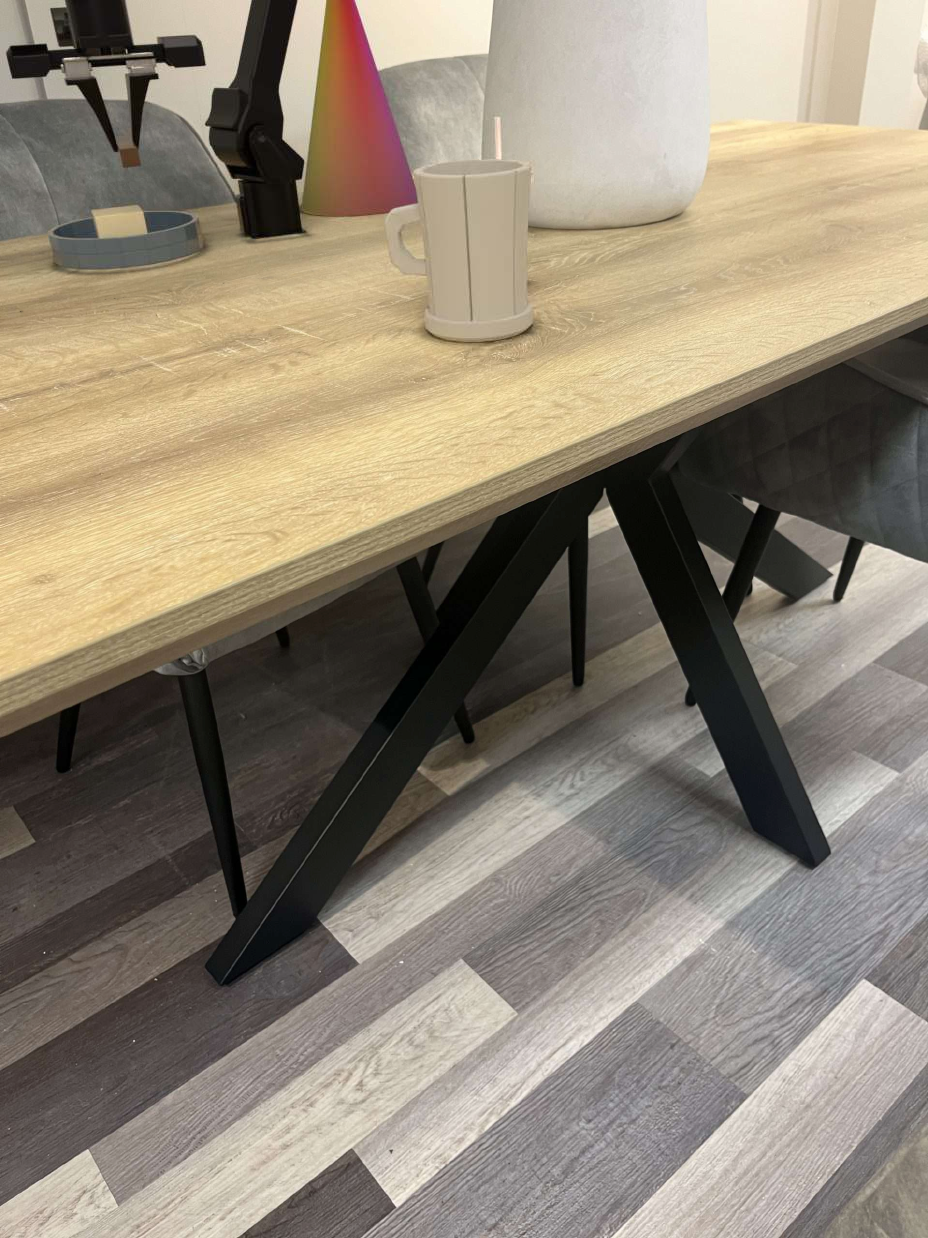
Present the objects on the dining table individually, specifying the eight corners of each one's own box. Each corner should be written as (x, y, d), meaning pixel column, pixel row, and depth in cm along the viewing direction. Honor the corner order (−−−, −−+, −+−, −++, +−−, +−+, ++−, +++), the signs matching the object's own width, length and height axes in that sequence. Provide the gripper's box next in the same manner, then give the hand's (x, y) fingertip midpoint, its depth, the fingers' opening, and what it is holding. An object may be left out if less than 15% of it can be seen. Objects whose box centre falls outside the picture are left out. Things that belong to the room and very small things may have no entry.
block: (148, 251, 111) (138, 204, 109) (153, 260, 108) (143, 210, 105) (102, 257, 110) (90, 209, 107) (105, 266, 106) (94, 216, 103)
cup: (436, 354, 75) (424, 182, 68) (387, 327, 82) (373, 169, 75) (554, 330, 79) (553, 165, 72) (498, 306, 86) (493, 154, 79)
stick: (141, 165, 102) (137, 146, 101) (123, 167, 101) (118, 148, 100) (132, 152, 109) (129, 134, 108) (116, 154, 108) (112, 136, 107)
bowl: (192, 236, 121) (186, 205, 119) (214, 260, 108) (208, 226, 106) (53, 253, 116) (45, 221, 114) (59, 280, 103) (50, 245, 102)
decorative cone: (276, 209, 134) (238, -59, 118) (361, 190, 144) (337, -59, 128) (359, 219, 125) (330, -71, 109) (444, 198, 135) (428, -70, 119)
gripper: (177, -27, 105) (204, 136, 113) (-10, -19, 100) (32, 151, 108) (191, -32, 96) (219, 145, 105) (-14, -24, 91) (33, 162, 99)
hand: (126, 150), depth 104 cm, fingers closed on stick, 2 cm apart
